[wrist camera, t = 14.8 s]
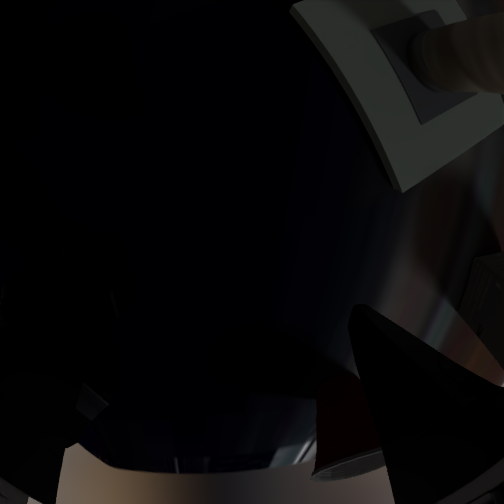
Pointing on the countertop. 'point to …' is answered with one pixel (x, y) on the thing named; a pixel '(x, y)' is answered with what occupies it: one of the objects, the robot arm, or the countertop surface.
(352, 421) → the plastic cup
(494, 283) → the skincare box
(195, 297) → the countertop surface
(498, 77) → the ash sleeve
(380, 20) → the sage board
